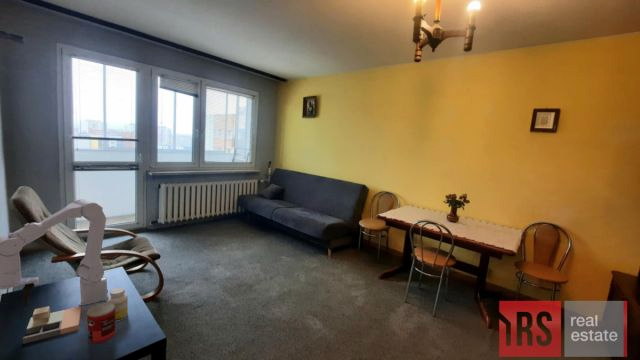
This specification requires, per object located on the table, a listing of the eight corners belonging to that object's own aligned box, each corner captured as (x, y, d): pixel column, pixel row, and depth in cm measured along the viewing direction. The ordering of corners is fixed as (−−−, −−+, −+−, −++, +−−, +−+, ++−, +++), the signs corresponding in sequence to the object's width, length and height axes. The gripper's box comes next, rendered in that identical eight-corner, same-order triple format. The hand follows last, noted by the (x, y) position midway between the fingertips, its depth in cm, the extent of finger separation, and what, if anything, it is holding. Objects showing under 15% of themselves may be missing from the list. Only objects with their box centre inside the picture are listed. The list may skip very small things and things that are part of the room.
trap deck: (81, 310, 116) (81, 306, 116) (78, 329, 106) (78, 324, 106) (31, 322, 108) (31, 317, 108) (23, 343, 97) (22, 338, 97)
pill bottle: (114, 312, 117) (113, 286, 115) (131, 312, 118) (130, 286, 116) (104, 322, 111) (103, 294, 109) (121, 322, 111) (121, 295, 110)
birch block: (50, 315, 109) (49, 306, 109) (48, 321, 106) (47, 311, 106) (35, 318, 107) (34, 309, 106) (33, 324, 104) (32, 314, 103)
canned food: (92, 332, 105) (91, 304, 104) (118, 327, 108) (117, 301, 107) (84, 346, 98) (83, 316, 97) (112, 341, 101) (111, 312, 100)
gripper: (-28, 279, 93) (-24, 318, 94) (34, 271, 100) (36, 307, 102) (-18, 270, 98) (-15, 306, 100) (39, 263, 106) (42, 297, 108)
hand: (11, 306), depth 102 cm, fingers open, 7 cm apart
